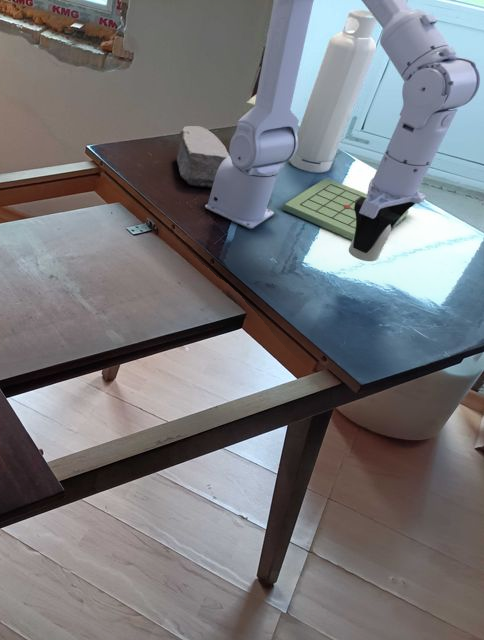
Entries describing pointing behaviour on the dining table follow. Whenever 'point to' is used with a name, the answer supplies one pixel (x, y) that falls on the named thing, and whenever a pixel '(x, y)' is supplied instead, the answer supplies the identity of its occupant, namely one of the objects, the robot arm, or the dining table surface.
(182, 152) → the decorative stone
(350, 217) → the game board
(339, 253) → the dining table surface
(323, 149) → the bottle
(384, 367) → the dining table surface
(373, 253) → the cream rounded cylinder
